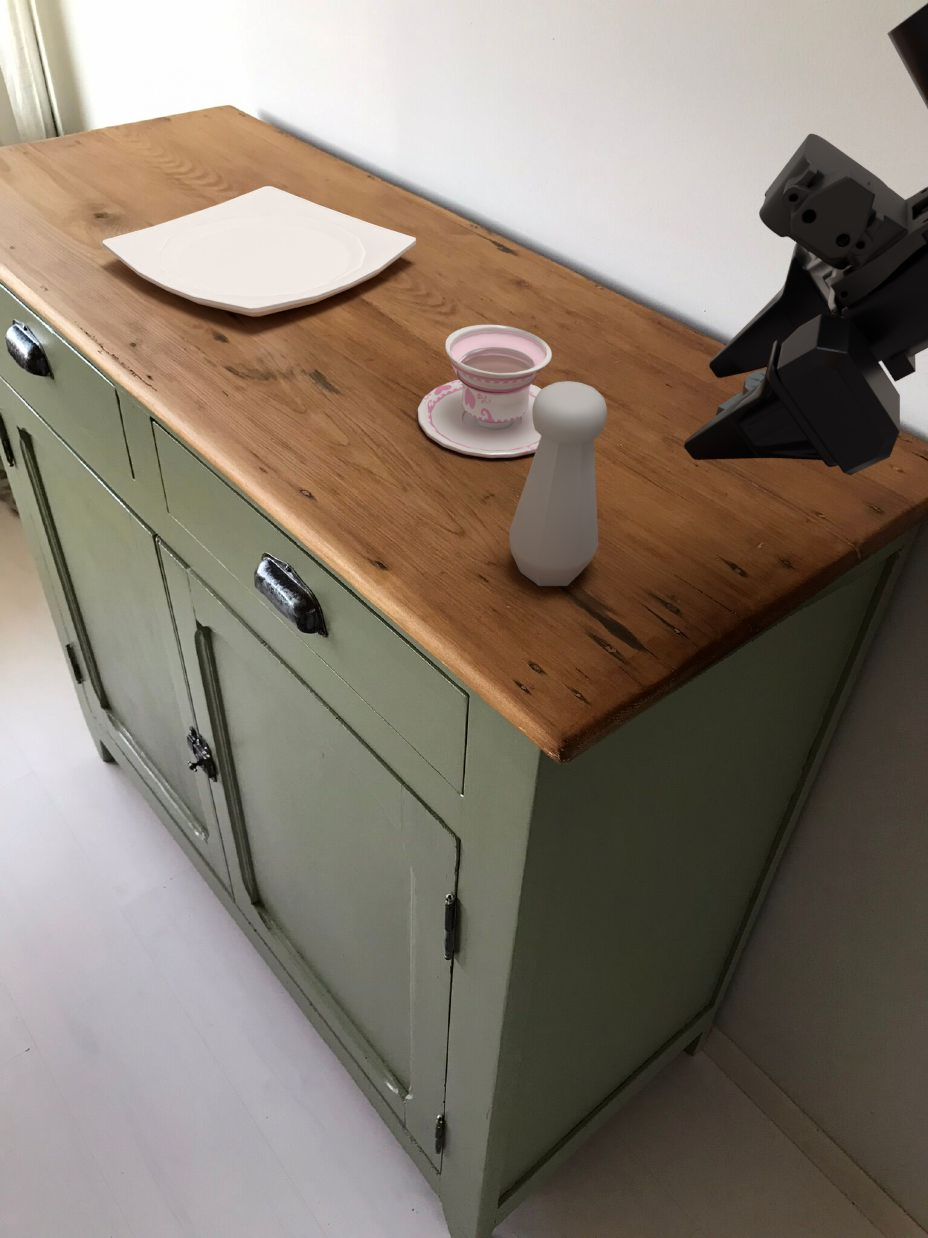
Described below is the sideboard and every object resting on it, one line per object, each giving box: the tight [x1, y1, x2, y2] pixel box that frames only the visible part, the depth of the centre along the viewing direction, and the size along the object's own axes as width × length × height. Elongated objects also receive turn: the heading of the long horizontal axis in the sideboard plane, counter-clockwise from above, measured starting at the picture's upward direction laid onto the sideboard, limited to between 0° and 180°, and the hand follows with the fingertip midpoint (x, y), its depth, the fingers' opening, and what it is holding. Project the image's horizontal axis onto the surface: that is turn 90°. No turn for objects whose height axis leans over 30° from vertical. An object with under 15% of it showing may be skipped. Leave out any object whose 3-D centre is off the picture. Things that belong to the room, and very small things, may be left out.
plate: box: [101, 185, 417, 317], centre depth 96 cm, size 24×24×3 cm
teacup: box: [417, 324, 553, 459], centre depth 75 cm, size 12×12×6 cm
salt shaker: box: [508, 380, 608, 587], centre depth 59 cm, size 6×6×13 cm
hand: (701, 408), depth 53 cm, fingers open, 9 cm apart
